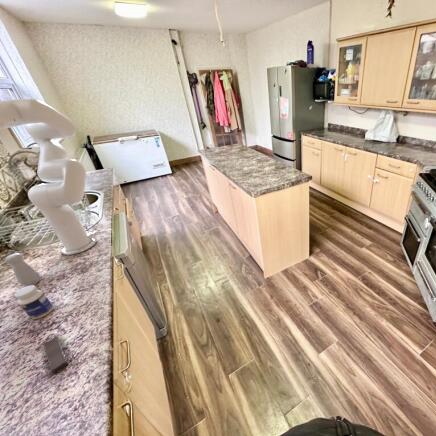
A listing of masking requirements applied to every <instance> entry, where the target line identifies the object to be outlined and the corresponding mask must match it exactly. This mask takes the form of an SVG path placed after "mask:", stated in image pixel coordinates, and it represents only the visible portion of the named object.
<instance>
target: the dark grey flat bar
mask: <svg viewBox="0 0 436 436" xmlns="http://www.w3.org/2000/svg"><path fill="white" fill-rule="evenodd" d="M43 347H44V351H45V355H46V358H47V361H48V365H49V369H50V371H51V373H52V374H56V373H57V372H59V371H60V370H62V369H64V368H65V367H66V366H68V365H69V361H68V359H67V355H66V353H65V350H64V348H63V345H62V342H61V340H60V338H59V336H58V335H57V336H55V337H53V338H51V339H50V340H48V341H46V342H44V343H43Z"/></svg>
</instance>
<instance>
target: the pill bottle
mask: <svg viewBox="0 0 436 436" xmlns="http://www.w3.org/2000/svg"><path fill="white" fill-rule="evenodd" d="M14 297H15V299H16V300H17V305H18V306H19V307H20V308H21V309H22V310H23V311H24V312H25V313H26V315H27V316H28V317H29V318H30V319H32V320H36V319H40V318H43V317H45V316H47V315H48V314H49V313H51V312H52V311H53V309H54V305H53V303H52V302H51V300H50V299H49V298H48V297H47V296H46V294H45V293H44V292H43V290H40V289H38V288H37V286H35V284H34V285H30V286H24V287H22V288H20V289H18V290H17V291H16V292H15V293H14Z"/></svg>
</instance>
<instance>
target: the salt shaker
mask: <svg viewBox="0 0 436 436" xmlns="http://www.w3.org/2000/svg"><path fill="white" fill-rule="evenodd" d="M4 262H5V263H6V264H8V265H10V267H11V268H12V271H13V274H14V276H15V279H16V280H17V283H18V284H20V285H23V286H24V287H26V286H30V285H34V286H35V285H36V284H37V283H39V282H40V281H41V278H40V277H41V273H40V272H39V271H37V270H36V269H35V268H34V267H32V266H31V265H29V263H27V262H26V261H25V260H24V255H22V254H21V253H19V252H18V253H17V252H15V253H12V254H10V255H8V256H6V257H5V259H4Z"/></svg>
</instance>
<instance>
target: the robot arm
mask: <svg viewBox="0 0 436 436" xmlns="http://www.w3.org/2000/svg"><path fill="white" fill-rule="evenodd" d="M22 125H24V127H25V130H26V132H27V134H28V135H29V136H30V137H31V138H32V139H33V141H34V142H35V144H37V146H38V148H39V158H38V164H37V171H36V172H37V177H38V178H39V180H41V181H43V182H45V183H39V184H35V185H34V186H31V188H29V189H28V192H27V197H28V199H29V201H30V202H31V204H32V205H33V206H34V207H35V208H36V209H38V211H40V213H41V214H42V215H43V217H44V218H45V219H46V221H47V223H48V225H49V226H50V227H51V229H52V231H53V233H54V234H55V236H56V237H57V238H58V240H59V241H60V243H61V244H62V246H63V247H62V248H61V253H62V254H63V255H66V256H70V255H76V254H79V253H82V252H85V251H87V250H89V249H90V248H92V247H93V246H94V245H95V244H96V239H95V237H97V236H99V235H100V234H101V233H100V231H99V230H96V231H90V232H89V233H87V231H86V229H85V228H84V225H83V224H82V223H81V221H80V219H79V217H78V215H77V213H76V212H75V210H74V209H73V207H71V206H70V205H76V204H79V203H81V202H82V200H83V199H84V196H85V189H86V179H87V178H86V177H87V173H86V168H85V166H84V165H83V163H82V162H81V161H79V160H78V159H74V158H68V151H67V150H66V148H65V147H64V145H62V144H61V143H60V142H59V141H57V139H58V140H59V139H71V138H72V137H75V136H76V135H77V127H76V125H75V123H74V122H73V120H71V119H70V118H69V117H67V116H66V115H65V114H63V113H61V112H60V111H58V110H57V109H55V108H54V107H53V106H51V105H49V104H47V103H45V102H43V101H41V100H39V99H36V98H20V99H18V98H17V99H6V100H5V99H4V100H0V131H3V130H7V129H10V128H13V127H19V126H22ZM0 210H2V207H1V206H0Z"/></svg>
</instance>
